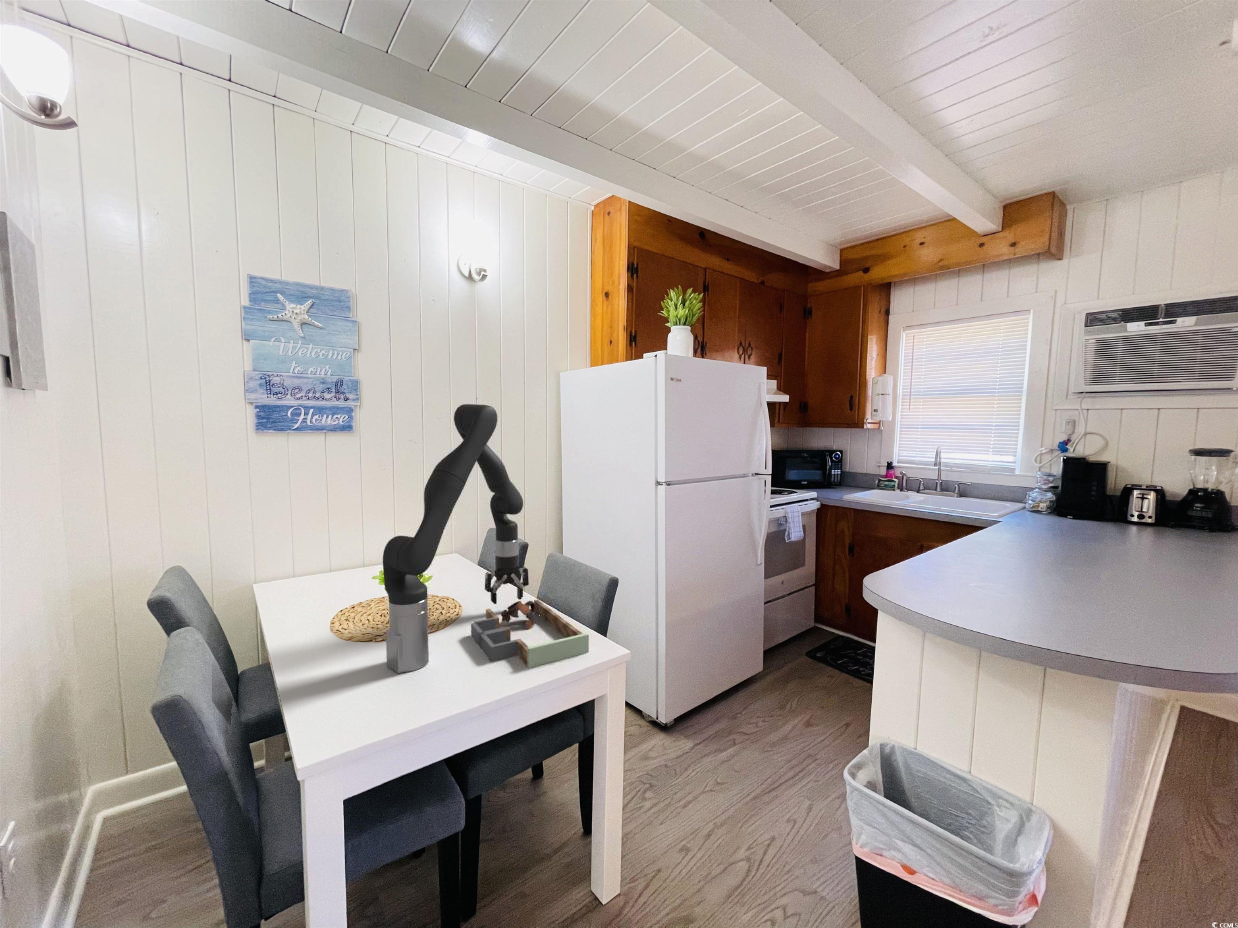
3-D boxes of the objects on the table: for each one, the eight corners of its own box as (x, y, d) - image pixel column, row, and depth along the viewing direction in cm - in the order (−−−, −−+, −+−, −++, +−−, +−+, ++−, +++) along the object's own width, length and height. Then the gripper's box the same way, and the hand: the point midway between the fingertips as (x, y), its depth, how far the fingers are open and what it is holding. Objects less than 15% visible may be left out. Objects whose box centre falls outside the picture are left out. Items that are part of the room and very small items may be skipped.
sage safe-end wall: (588, 652, 139) (588, 634, 139) (529, 667, 130) (529, 648, 129) (586, 650, 140) (586, 632, 140) (527, 665, 131) (527, 647, 130)
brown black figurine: (524, 635, 151) (510, 611, 150) (505, 641, 156) (491, 618, 156) (548, 612, 161) (535, 590, 160) (529, 619, 166) (516, 597, 166)
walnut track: (586, 650, 140) (586, 636, 140) (527, 665, 131) (527, 650, 130) (537, 611, 168) (537, 599, 168) (486, 621, 159) (485, 609, 159)
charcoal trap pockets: (517, 655, 136) (517, 641, 136) (491, 661, 133) (491, 647, 132) (493, 630, 153) (493, 617, 152) (470, 635, 149) (469, 622, 149)
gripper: (489, 558, 159) (489, 608, 161) (531, 552, 167) (531, 600, 168) (481, 553, 166) (482, 601, 167) (523, 547, 173) (523, 594, 174)
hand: (507, 600), depth 168 cm, fingers open, 8 cm apart
